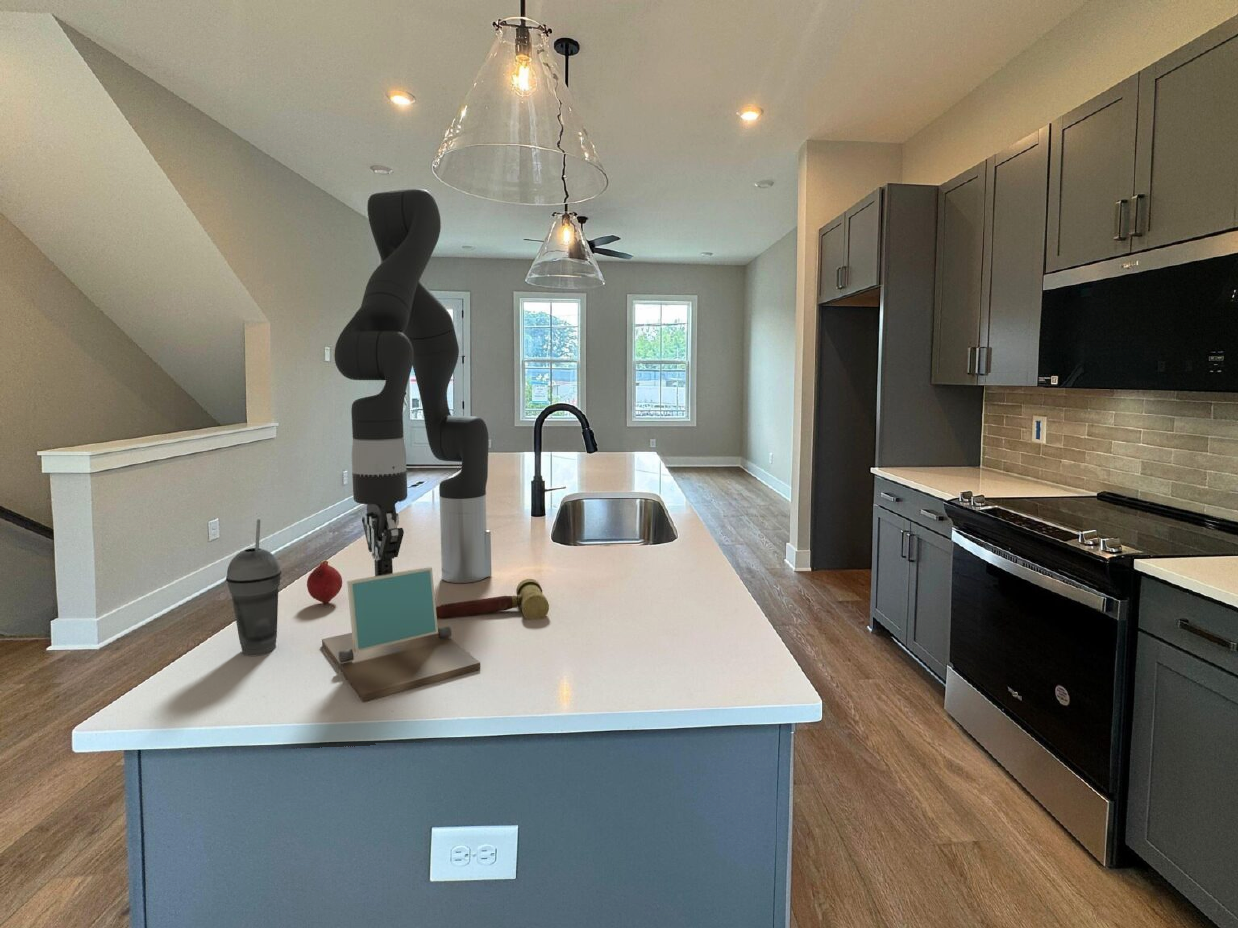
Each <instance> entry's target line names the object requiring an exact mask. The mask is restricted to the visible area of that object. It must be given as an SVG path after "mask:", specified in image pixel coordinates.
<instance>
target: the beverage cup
mask: <svg viewBox="0 0 1238 928" xmlns="http://www.w3.org/2000/svg"><path fill="white" fill-rule="evenodd" d="M260 532H261V519H258V518H257V519H256V529H255V545H254V547H252V548H247V549H244V550H242V551H240V552H239V553H237V554H236V555H235V556H234V557H233V558H232V559H231V560H230V562H229V564H228V567H227V572H226V577H225V581H226V582H227V587H228V590H229V593H230V594H231V601H232V606H233V611H234V617H235V623H236V629H237V633H238V634H237V635H238V640H239V644H240V647H241V653H242V654H243V655H244V656H251V657H252V656H260V655H265V654H268V653H270V652H272V651H274V650H275V649H276V648H277V637H278V613H279V610H278V609H279V608H278V607H279V587H280V583H281V575H282V570H281V568H280V565H279V564H280V563H279V561H278V560H277V558H276V556H275V555H274V554H273V553H272V552H270V551H268V550H266V549H264V548H260V539H261V538H260V535H261V533H260Z"/></svg>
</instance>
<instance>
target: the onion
mask: <svg viewBox="0 0 1238 928" xmlns="http://www.w3.org/2000/svg"><path fill="white" fill-rule="evenodd" d="M306 587H307V588H306V589H307V592H308V594H309V595H310V597H312V598H313V600H314V599H315V600H317V601H318V602H319V603H323V604H328V603H330V602H331V601H332V600H333V599H334V598H335V597H337V595H338V594H339V593H340V591H341V589H342V588H343V578H342V575H341V574H340V572H339V571H338V570H337V569H336V568H334V567H333V566H331V565H329V561H328V560H327V559H324V560H322V561H320V563H319V565H318V566H317V567H315V568H314V569H313V570H312V572H311V573H310V574H309V575H308V578H307V581H306Z"/></svg>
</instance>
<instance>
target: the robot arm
mask: <svg viewBox="0 0 1238 928" xmlns="http://www.w3.org/2000/svg"><path fill="white" fill-rule="evenodd" d="M366 205H367V209H366V210H367V217H368V223H369V226H370V230H371V233H372V236H373V239H374V242H375V246H376V248H377V251H378V254H379V257H380V260H381V263H380V264H379V265H378V266H377V267H376V269H375V270H374V271H373V272H372V273H371V275H370V276H369V278H368V282H367V284H366V286H365V290H364V294H363V298H362V301H361V305H360V307H359V308H358V310H357V311H356V312H355V314H354V315H353V316H352V317H351V319H350V320H349V322H348V323H347V324H346V325H345V326H344V328H343V330H342V331H341V332H340V334H339V336H338V337H337V340H336V343H335V346H334V353H333V354H334V362H335V366H336V368H337V370H338V372H339V373H340V374H341V375H342V376H343V377H344V378H346V379H349V380H353V381H385V383H384V386H383V387H382V390H381V391H380V392H379V393H378V394H375V395H370V396H365V397H361V398H357V399H356V400H354V401H353V402H352V404H351V411H350V412H351V414H350V415H351V431H352V433H351V434H352V445H351V446H352V447H351V472H352V473H351V475H352V476H351V477H352V478H351V479H352V493H353V495H352V498H353V501H354V502H355V503H357V504H361V505H366V512H365V513H364V515H363V516H362V518H361V523H362V527H363V530H364V535H365V540H366V544H367V549H368V552H369V553H371V557H372V559H373V560H374V561H373V562H374V576H379V575H385V574H391V573H394V572H393V571H394V569H393V566H394V565H393V560H394V559H395V558H398V555H399V553H400V549H401V545H402V542H403V537H404V533H405V531H404V528H403V527H398V526H399V524H400V517H399V513H397V508H396V504H397V503H398V502H404V501H405V500H407V498H408V479H407V478H408V473H407V453H406V452H407V451H406V445H405V439H404V412H403V411H404V404H405V397H406V391H407V387H408V383H409V379H410V375H411V373H412V368H413V372H414V376H415V382H416V385H417V389H418V394H419V396H420V397H419V398H420V402H421V408H422V412H423V413H422V415H423V420H424V425H425V426H424V427H425V431H426V437H427V442H428V446H429V448H430V450H431V453H432V455H433V456H434V458H436V459H437V460H439V461H443V462H458V463H461V468H460V472H458V474H456V475H454V476H452V477H449V478H446V479H443V480H442V481H441V482H439V486H438V490H439V491H438V492H439V517H440V518H439V521H440V523H439V524H440V554H441V555H440V557H441V559H440V561H441V578H442V580H443V581H444V582H447V583H453V584H454V583H455V584H466V583H467V584H469V583H475V582H478V581H481V580H484V579H486V578H488V577H492V536H491V535H492V534H491V533H492V532H491V531H490V530H489V529H487V526H488V525H487V482H488V476H489V473H488V472H489V446H490V445H489V442H490V441H489V432H488V426H487V424H486V422H485V421H484V419H483V418H481V417H479V416H474V415H473V416H470V415H469V416H468V415H466V416H465V415H452V414H451V411H450V408H449V402H448V388H449V385H450V382H451V380H452V376H453V374H454V373H455V369H456V367H457V363H458V359H459V353H460V349H459V343H458V338H457V334H456V329H455V326H454V321H453V318H452V316H451V314H450V313H449V310H447V308H446V307H445V306H444V305H443V304H442V302H440V301H439V299H438V298H437V297H436V296H435V295H434V294H433V293H432V292H431V291H430V290H429V289H428V288H427V287H426V285H424V283H423V282H422V281H421V280H420V279H421V277H422V275H423V273H424V272H425V270H426V267H427V265H428V263H429V261H430V259H431V257H432V255H433V253H434V250H435V248H436V246H437V244H438V242H439V238H440V235H441V230H442V229H441V227H442V225H441V214H440V209H439V207H438V203H437V201H436V199H435V197H434V196H433V194H432V193H430V192H429V191H428V190H427V189H423V188H408V189H401V190H399V189H398V190H390V191H383V192H382V191H381V192H376V193H373V194H371V195H370V196H369V198H368V199H367V204H366Z"/></svg>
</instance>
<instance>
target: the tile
mask: <svg viewBox="0 0 1238 928" xmlns="http://www.w3.org/2000/svg"><path fill="white" fill-rule="evenodd" d="M346 585H347V593H348V606H349V616H350V624H351V625H350V626H351V633H352V638H353V649H354V652H360V651H364V650H369V649H373V648H377V647H381V646H386V645H390V644H394V643H398V642H403V641H407V640H411V639H415V638H420V637H424V636H428V635H432V634H437V633H438V629H439V627H438V618H437V615H436V607H437V606H436V597H435V585H434V575H433V567H432V566H426V567H422V568H415V569H409V570H403V571H398V572H393V573H391V574H385V575H379V576H375V575H374V576H370V577H369V576H368V577H363V578H356V579H352V580H351V579H350V580H346Z"/></svg>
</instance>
